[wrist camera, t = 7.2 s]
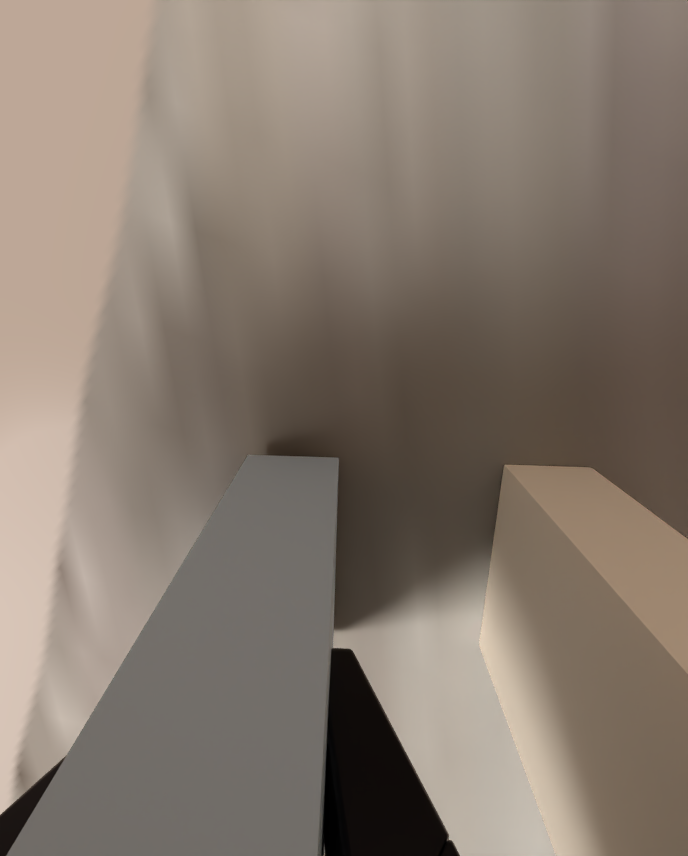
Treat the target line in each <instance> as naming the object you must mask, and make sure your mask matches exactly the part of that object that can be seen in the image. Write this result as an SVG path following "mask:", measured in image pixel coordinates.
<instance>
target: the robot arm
mask: <svg viewBox="0 0 688 856" xmlns="http://www.w3.org/2000/svg"><path fill="white" fill-rule="evenodd" d="M66 756H67V755H66ZM66 756H65V757H66ZM65 757H64V758H63V759H62V760H61V761H60V762H59V763H58V764H56V765H55V766H54V767H53V768H52V769H51V770H50V771H49V772H48V773H46V774H45V775H44V776H43V777H42V778H41V779H40V780H39V781H38V782H36V783H35V784H34V785H33V786H32V787H31V788H30V789H29V790H27V791H26V792H25V793H24V794H23V795H22V796H21V797H20V798H19V799H17V800H16V801H15V802H14V803H13V804H12V805H11V806H10V807H9V808H7V809H6V810H5V811H4V812H3V813H2V814H1V815H0V856H6V855H7V854H8V852H9V850H10V849H11V847H12V845H13V844H14V842H15V840H16V839H17V837H18V835H19V834H20V832H21V830H22V829H23V827H24V825H25V824H26V822H27V820H28V819H29V817H30V816H31V814H32V812H33V811H34V809H35V807H36V806H37V804H38V802H39V801H40V799H41V797H42V796H43V794H44V792H45V791H46V789H47V787H48V786H49V784H50V782H51V781H52V779H53V777H54V776H55V774H56V772H57V771H58V769H59V767H60V766H61V764H62V762H63V761H64V759H65ZM324 850H325V856H460V855H459V853H458V851H457V849H456V847H455V845H454V843H453V842H452V841H451V840H449V834H448V832H447V830H446V828H445V826H444V825H443V823H442V821H441V819H440V817H439V815H438V813H437V811H436V809H435V807H434V805H433V804H432V802H431V800H430V798H429V796H428V794H427V792H426V790H425V788H424V786H423V784H422V782H421V781H420V779H419V777H418V775H417V773H416V771H415V769H414V767H413V765H412V763H411V761H410V759H409V758H408V756H407V754H406V752H405V750H404V748H403V746H402V744H401V742H400V740H399V738H398V737H397V735H396V733H395V731H394V729H393V727H392V725H391V723H390V721H389V719H388V717H387V715H386V714H385V712H384V710H383V708H382V706H381V704H380V702H379V700H378V698H377V696H376V694H375V692H374V691H373V689H372V687H371V685H370V683H369V681H368V679H367V677H366V675H365V673H364V671H363V669H362V668H361V666H360V664H359V662H358V660H357V658H356V656H355V654H354V652H353V651H352V650H351V649H341V648H331V667H330V687H329V706H328V727H327V758H326V794H325V830H324Z"/></svg>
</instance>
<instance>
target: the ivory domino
mask: <svg viewBox="0 0 688 856" xmlns="http://www.w3.org/2000/svg"><path fill="white" fill-rule="evenodd" d="M479 647H480V649H481V652H482V655H483V657H484V660H485V663H486V666H487V668H488V671H489V674H490V677H491V679H492V682H493V685H494V688H495V690H496V693H497V696H498V698H499V701H500V704H501V707H502V709H503V712H504V715H505V718H506V720H507V723H508V726H509V729H510V731H511V734H512V737H513V739H514V742H515V745H516V748H517V750H518V753H519V756H520V759H521V761H522V764H523V767H524V770H525V772H526V775H527V778H528V780H529V783H530V786H531V789H532V791H533V794H534V797H535V800H536V802H537V805H538V808H539V811H540V813H541V816H542V819H543V821H544V824H545V827H546V830H547V832H548V835H549V838H550V841H551V843H552V846H553V849H554V851H555V854H556V856H688V539H687V538H686V537H684V536H683V535H682V534H680V533H679V532H678V531H676V530H675V529H673V528H672V527H671V526H669V525H668V524H667V523H665V522H664V521H663V520H661V519H660V518H659V517H657V516H656V515H655V514H653V513H652V512H651V511H649V510H648V509H647V508H645V507H644V506H643V505H641V504H640V503H639V502H637V501H636V500H635V499H633V498H632V497H630V496H629V495H628V494H626V493H625V492H624V491H622V490H621V489H620V488H618V487H617V486H616V485H614V484H613V483H612V482H610V481H609V480H608V479H606V478H605V477H604V476H602V475H601V474H600V473H598V472H597V471H596V470H594V469H593V468H592V467H564V466H534V465H504V469H503V476H502V483H501V490H500V497H499V504H498V511H497V519H496V526H495V533H494V540H493V547H492V554H491V561H490V569H489V576H488V583H487V590H486V597H485V604H484V611H483V619H482V626H481V633H480V640H479Z"/></svg>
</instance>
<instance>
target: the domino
mask: <svg viewBox="0 0 688 856" xmlns="http://www.w3.org/2000/svg"><path fill="white" fill-rule="evenodd" d="M338 472H339V458H333V457H303V456H272V455H247V457H246V459H245V460H244V462H243V464H242V465H241V467H240V469H239V470H238V472H237V474H236V475H235V477H234V479H233V480H232V482H231V484H230V485H229V487H228V489H227V490H226V492H225V494H224V495H223V497H222V499H221V500H220V502H219V504H218V505H217V507H216V509H215V510H214V512H213V514H212V515H211V517H210V519H209V520H208V522H207V523H206V525H205V527H204V528H203V530H202V532H201V533H200V535H199V537H198V538H197V540H196V542H195V543H194V545H193V547H192V548H191V550H190V552H189V553H188V555H187V557H186V558H185V560H184V562H183V563H182V565H181V567H180V568H179V570H178V572H177V573H176V575H175V577H174V578H173V580H172V582H171V583H170V585H169V587H168V588H167V590H166V592H165V593H164V595H163V597H162V598H161V600H160V601H159V603H158V605H157V606H156V608H155V610H154V611H153V613H152V615H151V616H150V618H149V620H148V621H147V623H146V625H145V626H144V628H143V630H142V631H141V633H140V635H139V636H138V638H137V640H136V641H135V643H134V645H133V646H132V648H131V650H130V651H129V653H128V655H127V656H126V658H125V660H124V661H123V663H122V665H121V666H120V668H119V670H118V671H117V673H116V674H115V676H114V678H113V679H112V681H111V683H110V684H109V686H108V688H107V689H106V691H105V693H104V694H103V696H102V698H101V699H100V701H99V703H98V704H97V706H96V708H95V709H94V711H93V713H92V714H91V716H90V718H89V719H88V721H87V723H86V724H85V726H84V728H83V729H82V731H81V733H80V734H79V736H78V738H77V739H76V741H75V743H74V744H73V746H72V747H71V749H70V751H69V752H68V754H67V756H66V757H65V759H64V761H63V762H62V764H61V766H60V767H59V769H58V771H57V772H56V774H55V776H54V777H53V779H52V781H51V782H50V784H49V786H48V787H47V789H46V791H45V792H44V794H43V796H42V797H41V799H40V801H39V802H38V804H37V806H36V807H35V809H34V811H33V812H32V814H31V816H30V817H29V819H28V820H27V822H26V824H25V825H24V827H23V829H22V830H21V832H20V834H19V835H18V837H17V839H16V840H15V842H14V844H13V845H12V847H11V849H10V850H9V852H8V854H7V855H6V856H324V853H325V850H324V830H325V794H326V758H327V727H328V706H329V687H330V667H331V648H333V636H334V603H335V570H336V537H337V505H338Z"/></svg>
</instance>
